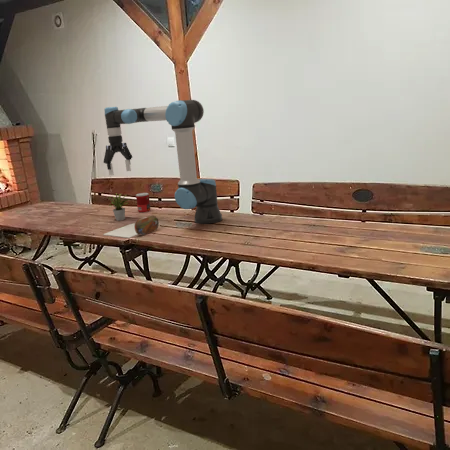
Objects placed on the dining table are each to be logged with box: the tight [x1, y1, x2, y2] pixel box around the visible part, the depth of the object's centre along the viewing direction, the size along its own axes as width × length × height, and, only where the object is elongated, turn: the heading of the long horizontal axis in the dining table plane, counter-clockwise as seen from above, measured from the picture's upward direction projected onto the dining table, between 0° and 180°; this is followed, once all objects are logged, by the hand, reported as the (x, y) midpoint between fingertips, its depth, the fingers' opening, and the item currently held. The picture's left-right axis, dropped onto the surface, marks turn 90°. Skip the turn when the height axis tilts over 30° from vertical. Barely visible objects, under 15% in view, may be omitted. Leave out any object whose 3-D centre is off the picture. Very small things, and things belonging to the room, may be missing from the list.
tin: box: [134, 215, 159, 236], centre depth 237 cm, size 15×3×8 cm, turn 143°
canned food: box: [135, 192, 152, 213], centre depth 287 cm, size 8×8×11 cm
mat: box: [102, 223, 139, 239], centre depth 244 cm, size 19×22×1 cm
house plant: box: [107, 192, 131, 221], centre depth 269 cm, size 14×14×16 cm
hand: (120, 173), depth 261 cm, fingers open, 13 cm apart
